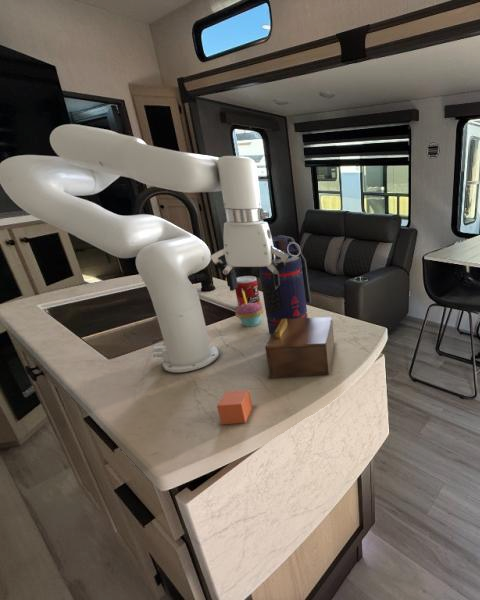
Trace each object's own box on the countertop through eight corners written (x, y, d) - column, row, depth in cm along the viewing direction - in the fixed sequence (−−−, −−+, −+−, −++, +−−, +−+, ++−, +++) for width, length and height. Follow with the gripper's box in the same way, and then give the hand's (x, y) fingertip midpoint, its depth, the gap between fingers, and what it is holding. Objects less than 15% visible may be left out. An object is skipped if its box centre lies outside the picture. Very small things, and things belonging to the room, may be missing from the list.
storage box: (270, 378, 77) (265, 349, 74) (285, 346, 92) (281, 321, 89) (328, 374, 78) (326, 345, 76) (334, 344, 93) (332, 319, 91)
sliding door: (265, 348, 74) (263, 339, 73) (281, 321, 89) (280, 313, 88) (326, 345, 76) (325, 336, 75) (332, 318, 90) (331, 311, 90)
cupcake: (232, 325, 106) (225, 291, 102) (254, 316, 113) (249, 284, 108) (248, 330, 102) (241, 295, 97) (270, 321, 108) (265, 288, 104)
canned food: (252, 310, 118) (247, 282, 114) (233, 308, 120) (228, 280, 116) (265, 303, 125) (260, 276, 121) (247, 301, 127) (242, 275, 123)
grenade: (282, 345, 93) (267, 242, 82) (262, 333, 100) (246, 237, 89) (321, 329, 102) (312, 236, 92) (300, 319, 110) (290, 232, 99)
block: (221, 424, 62) (216, 405, 61) (230, 409, 66) (226, 391, 65) (245, 422, 63) (241, 404, 61) (252, 407, 67) (249, 389, 65)
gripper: (288, 215, 76) (294, 283, 82) (211, 214, 74) (223, 284, 80) (280, 218, 69) (288, 293, 75) (195, 217, 67) (210, 294, 73)
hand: (255, 288), depth 77 cm, fingers open, 9 cm apart
